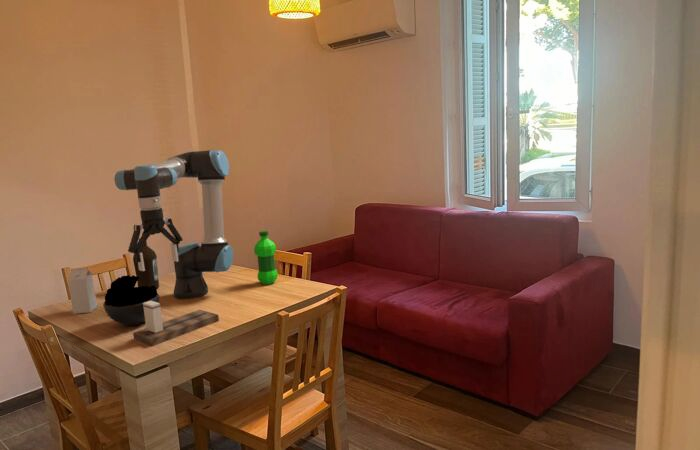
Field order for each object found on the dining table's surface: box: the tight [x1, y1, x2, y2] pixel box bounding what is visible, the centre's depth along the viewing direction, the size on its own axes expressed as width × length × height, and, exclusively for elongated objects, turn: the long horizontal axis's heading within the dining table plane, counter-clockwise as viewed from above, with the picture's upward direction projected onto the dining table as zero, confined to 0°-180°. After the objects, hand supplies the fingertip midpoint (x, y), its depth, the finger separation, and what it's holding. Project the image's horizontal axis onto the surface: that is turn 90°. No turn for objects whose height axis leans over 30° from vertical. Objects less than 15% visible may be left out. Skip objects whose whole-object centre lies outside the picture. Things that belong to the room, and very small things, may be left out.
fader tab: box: [143, 301, 163, 333], centre depth 183 cm, size 3×6×10 cm, turn 51°
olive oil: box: [132, 237, 160, 289], centre depth 248 cm, size 11×11×25 cm
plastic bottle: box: [253, 230, 279, 285], centre depth 245 cm, size 10×10×25 cm
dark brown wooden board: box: [132, 309, 220, 347], centre depth 191 cm, size 28×12×3 cm, turn 141°
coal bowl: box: [103, 274, 160, 326], centre depth 200 cm, size 20×20×19 cm
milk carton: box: [67, 266, 98, 315], centre depth 220 cm, size 7×7×19 cm
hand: (159, 265), depth 189 cm, fingers open, 13 cm apart
